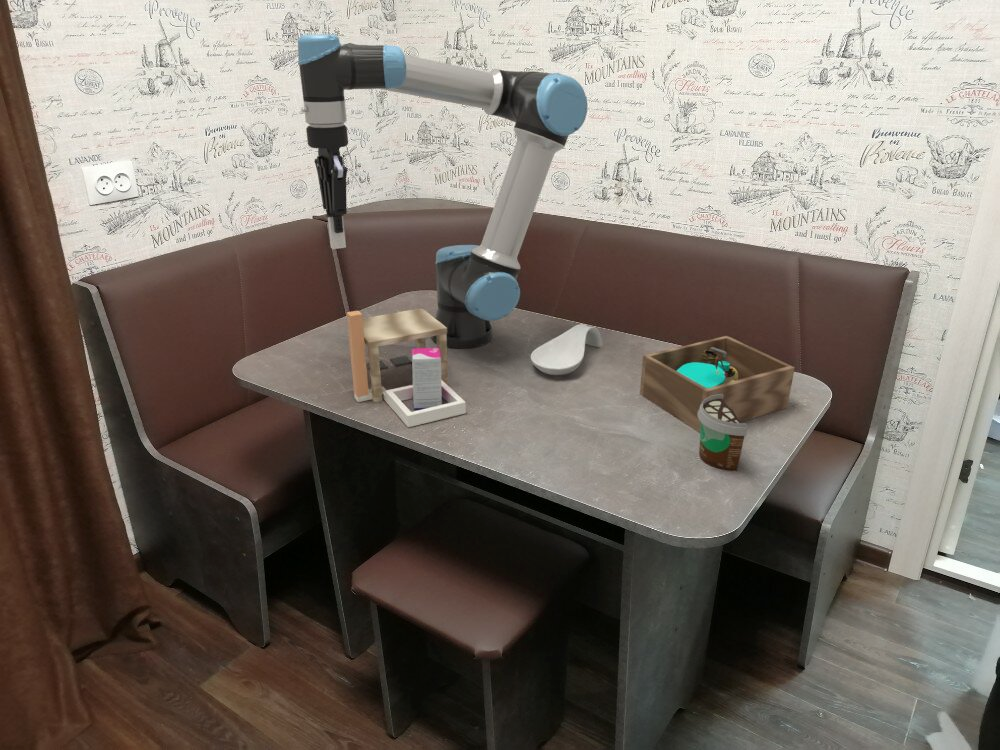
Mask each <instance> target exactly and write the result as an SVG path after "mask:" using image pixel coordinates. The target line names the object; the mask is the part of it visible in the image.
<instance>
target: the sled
mask: <svg viewBox="0 0 1000 750" xmlns="http://www.w3.org/2000/svg"><path fill="white" fill-rule="evenodd" d="M362 318H363V314H362V313H361V312H360V311H359V310H352V311H348V312H346V321H347V331H348V333H347V334H348V344H349V353H350V355H349V356H350V362H351V363H350V364H351V374H352V375H351V376H352V385H353V386H352V387H353V397H354V399H355V401H357V403H361V402H365V401H370V400H372V388H369V384H368V383H369V382H368V368H367V367H366V364H367V359H366V344H365V343H364V332H363V319H362ZM381 390H382V400H384V401H385V402H386V404H387V405H388V406H389V407H390V408H391V409H392V411H393V412H394V413H395V414H396V416H398V418H399V419H401V421H402V422H403V424H405V425H406V427H407V428H411V427H415V426H419V425H423V424H427V423H431V422H435V421H439V420H444V419H447V418H453V417H456V416H461V415H465V414H466V413H467V411H466V410H467V406H466V405H467V404H466V401H465V400H464V399H463V398H462V397H461V396H460V395H458V394H457V393H456V392H455V391H454V390H453V389H452V388H451V387H450V386H449V384H448V385H447V384H446V383H444V382H443V381H442V380H441V390H442V399H444V400H445V401H446V402H447V403H444V404H443V403H442V405H439V406H435V407H430V408H426V409H422V410H418V411H414V410H413V411H411V410H410V409H409V408H408V407H407V406H406V405H405V403H403V402H402V401H407V400H411V399H412V400H413V384H409V385H405V386H401V387H396V388H393V389H392V388H391V389H386V388H385V387H384V386H383V385H381Z"/></svg>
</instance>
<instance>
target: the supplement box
mask: <svg viewBox="0 0 1000 750" xmlns="http://www.w3.org/2000/svg"><path fill="white" fill-rule="evenodd" d="M411 361H412V363H411V364H412V368H411V369H412V370H411V371H412V385H413V398H412V401H413V402H412V403H413V404H412V405H413V412H414V411H418V410H422V409H426V408H430V407H435V406H439V405H443V402H442V399H443V397H442V390H441V356H440V350H439V348H437V347H429V348H428V347H425V348H419V349H416V348H411Z"/></svg>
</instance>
